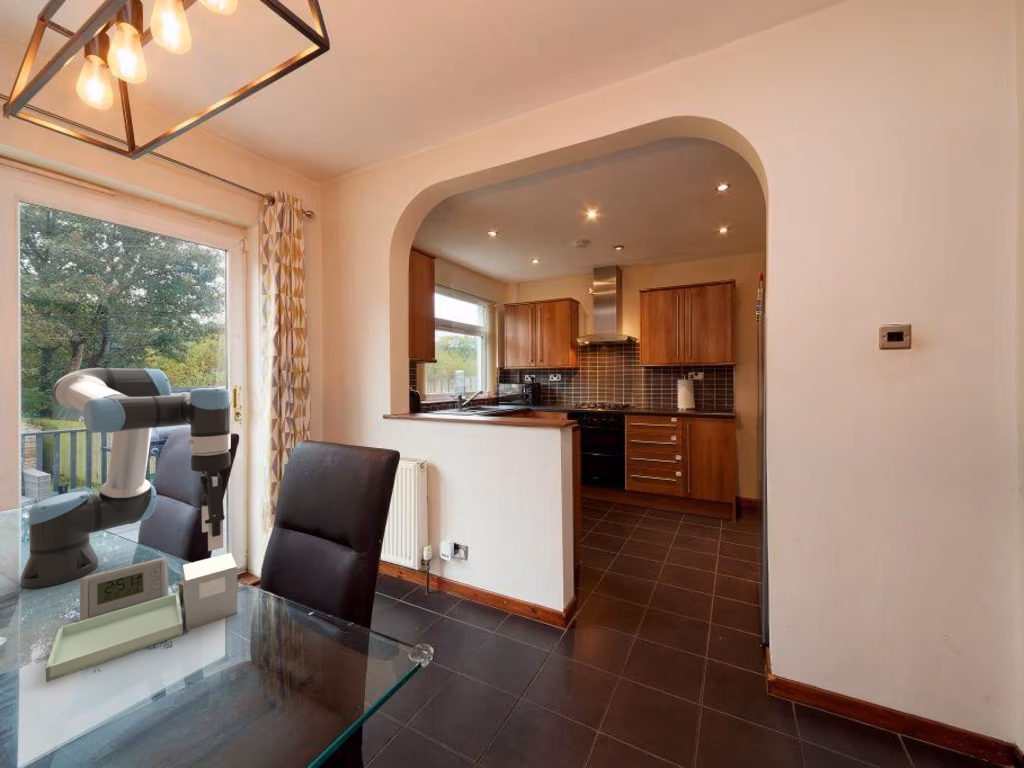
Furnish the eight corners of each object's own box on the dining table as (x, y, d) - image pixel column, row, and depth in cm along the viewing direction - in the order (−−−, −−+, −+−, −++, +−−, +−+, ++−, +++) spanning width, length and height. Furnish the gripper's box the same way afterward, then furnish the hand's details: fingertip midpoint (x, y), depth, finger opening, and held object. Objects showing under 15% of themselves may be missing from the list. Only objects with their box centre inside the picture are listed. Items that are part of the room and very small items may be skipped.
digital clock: (75, 629, 92) (74, 585, 92) (89, 609, 100) (88, 568, 99) (165, 607, 101) (164, 567, 101) (172, 590, 108) (171, 553, 108)
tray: (59, 639, 88) (59, 627, 88) (178, 603, 103) (178, 592, 102) (45, 682, 76) (45, 668, 76) (182, 634, 90) (182, 622, 90)
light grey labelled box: (183, 610, 99) (182, 564, 99) (231, 595, 106) (230, 552, 106) (186, 630, 92) (185, 581, 91) (237, 613, 99) (237, 566, 98)
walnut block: (179, 601, 104) (178, 582, 104) (201, 592, 108) (201, 574, 108) (186, 607, 101) (186, 588, 101) (209, 597, 105) (209, 579, 105)
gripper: (187, 446, 100) (188, 527, 100) (195, 463, 82) (197, 563, 82) (223, 443, 105) (224, 520, 106) (238, 458, 87) (239, 552, 87)
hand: (212, 539), depth 94 cm, fingers open, 13 cm apart
